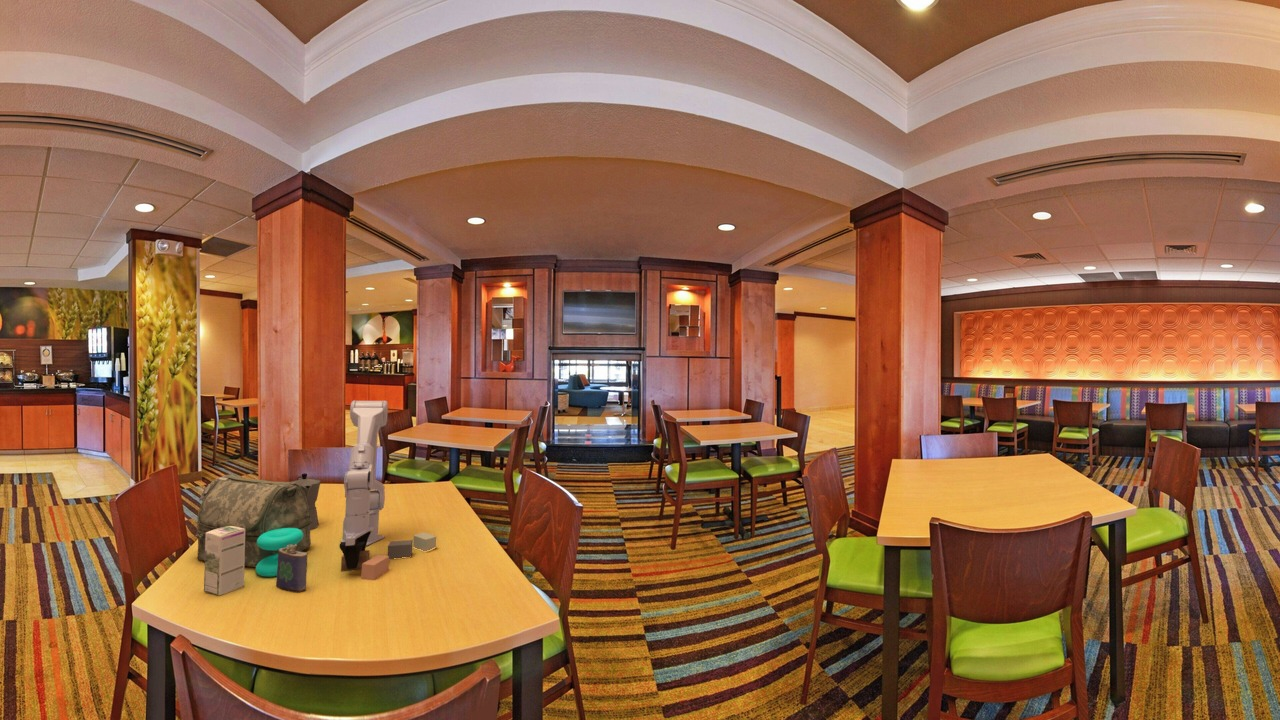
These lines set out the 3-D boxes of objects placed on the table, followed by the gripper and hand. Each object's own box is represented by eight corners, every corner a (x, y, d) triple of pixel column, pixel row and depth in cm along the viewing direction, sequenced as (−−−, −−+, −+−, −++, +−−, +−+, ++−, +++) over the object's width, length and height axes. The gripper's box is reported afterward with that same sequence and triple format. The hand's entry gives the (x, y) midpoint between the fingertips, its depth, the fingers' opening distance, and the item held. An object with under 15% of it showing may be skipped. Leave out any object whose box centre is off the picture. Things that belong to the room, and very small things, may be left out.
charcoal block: (387, 560, 138) (387, 546, 138) (389, 555, 142) (390, 541, 142) (410, 558, 140) (410, 544, 140) (411, 553, 143) (412, 540, 143)
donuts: (286, 524, 135) (312, 529, 132) (285, 560, 135) (310, 566, 132) (247, 535, 126) (274, 541, 123) (246, 574, 126) (272, 581, 123)
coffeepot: (323, 530, 159) (325, 475, 159) (288, 536, 152) (290, 479, 152) (313, 518, 170) (315, 466, 170) (280, 523, 163) (282, 470, 163)
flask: (308, 589, 119) (310, 545, 119) (296, 594, 117) (298, 549, 117) (284, 581, 123) (285, 539, 123) (271, 586, 120) (273, 543, 120)
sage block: (435, 549, 147) (436, 536, 147) (425, 553, 144) (425, 539, 144) (423, 545, 150) (424, 532, 150) (413, 548, 147) (413, 535, 147)
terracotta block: (373, 580, 125) (374, 565, 125) (361, 579, 126) (361, 563, 126) (388, 570, 131) (389, 556, 131) (376, 569, 132) (377, 555, 132)
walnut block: (340, 572, 130) (341, 557, 130) (344, 566, 133) (345, 552, 133) (366, 569, 131) (366, 555, 132) (369, 564, 135) (369, 550, 135)
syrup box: (245, 586, 120) (247, 527, 120) (217, 596, 114) (220, 535, 114) (229, 582, 121) (232, 524, 122) (201, 592, 116) (204, 531, 116)
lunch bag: (181, 561, 132) (184, 481, 132) (247, 538, 150) (250, 467, 150) (259, 573, 127) (262, 489, 127) (318, 548, 144) (321, 474, 144)
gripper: (368, 520, 127) (366, 572, 127) (379, 504, 140) (377, 551, 140) (337, 521, 124) (335, 574, 124) (351, 505, 138) (349, 553, 138)
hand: (355, 562), depth 132 cm, fingers open, 7 cm apart
